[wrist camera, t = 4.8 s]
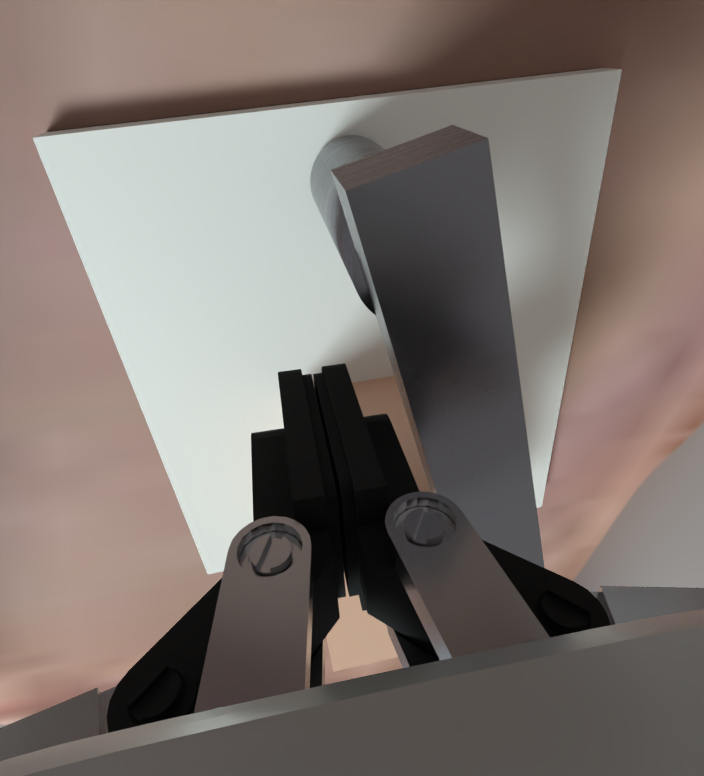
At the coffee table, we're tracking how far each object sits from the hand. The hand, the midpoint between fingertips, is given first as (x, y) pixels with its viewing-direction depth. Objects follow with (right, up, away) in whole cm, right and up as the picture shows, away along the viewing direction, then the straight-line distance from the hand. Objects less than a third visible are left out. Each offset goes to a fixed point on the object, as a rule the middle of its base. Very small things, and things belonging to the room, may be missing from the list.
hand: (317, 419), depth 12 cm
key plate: (+1, +2, +8) cm, 8 cm away
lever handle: (+2, +3, +5) cm, 6 cm away
